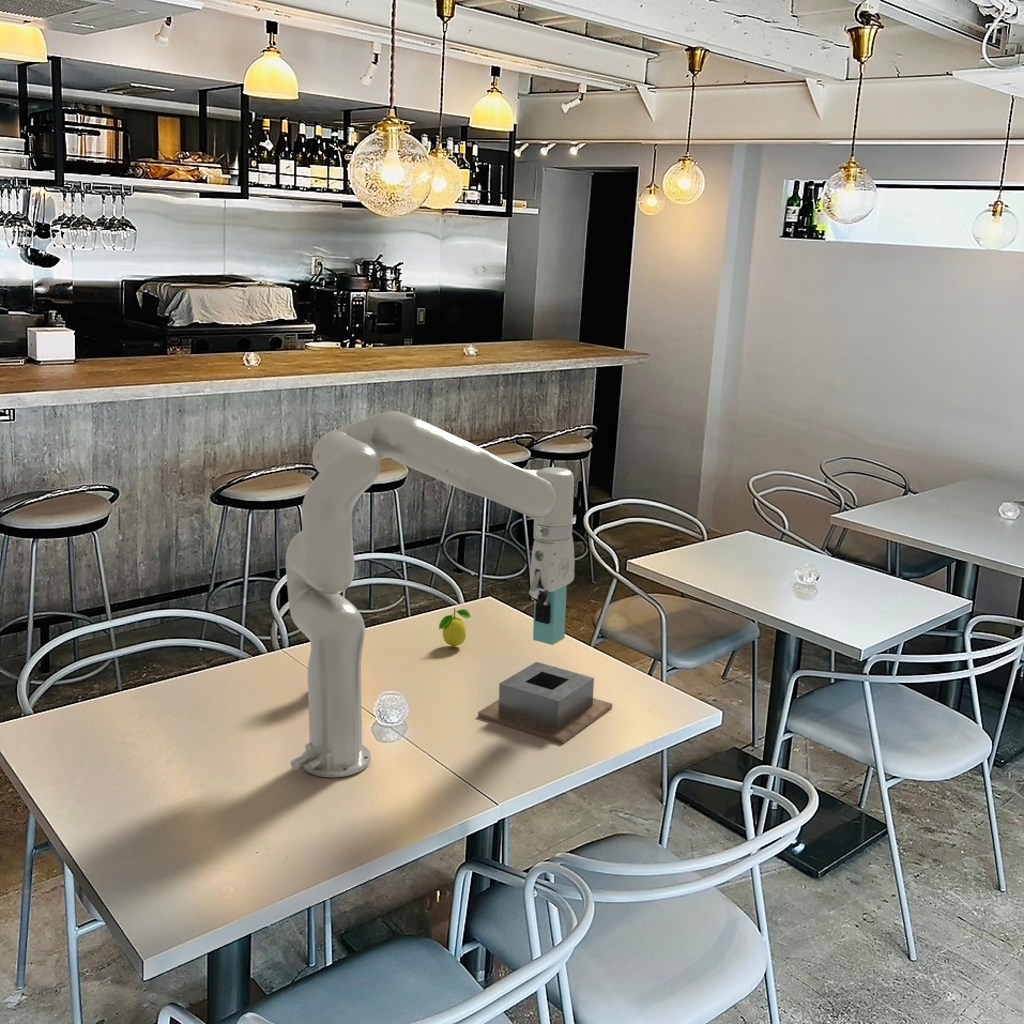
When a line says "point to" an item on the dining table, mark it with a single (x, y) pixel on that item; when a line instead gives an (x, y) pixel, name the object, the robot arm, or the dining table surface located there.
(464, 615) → the lemon
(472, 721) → the dining table surface
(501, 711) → the well
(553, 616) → the teal post
